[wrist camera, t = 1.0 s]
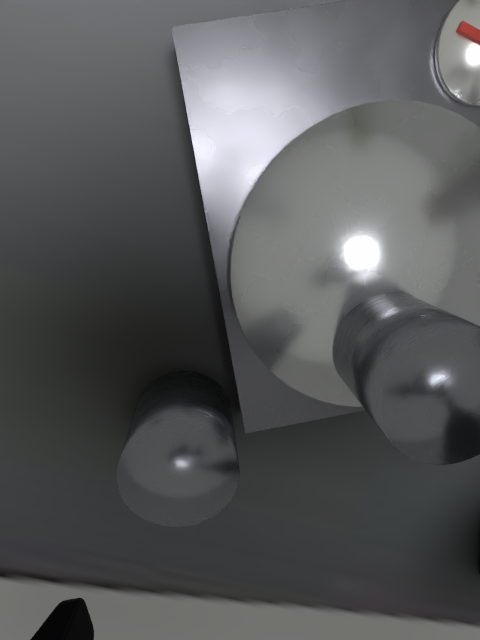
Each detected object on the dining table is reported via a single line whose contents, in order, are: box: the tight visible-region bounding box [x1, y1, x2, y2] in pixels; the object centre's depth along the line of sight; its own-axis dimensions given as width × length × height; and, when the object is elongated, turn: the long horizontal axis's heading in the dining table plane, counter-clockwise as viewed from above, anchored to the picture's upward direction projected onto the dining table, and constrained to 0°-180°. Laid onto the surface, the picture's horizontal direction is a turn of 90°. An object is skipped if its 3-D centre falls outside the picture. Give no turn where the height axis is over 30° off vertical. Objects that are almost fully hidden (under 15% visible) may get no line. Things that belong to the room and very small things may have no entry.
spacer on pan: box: [332, 293, 480, 465], centre depth 15 cm, size 5×5×5 cm
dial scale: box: [172, 0, 480, 434], centre depth 17 cm, size 17×14×3 cm
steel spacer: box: [116, 371, 240, 527], centre depth 18 cm, size 5×5×5 cm
